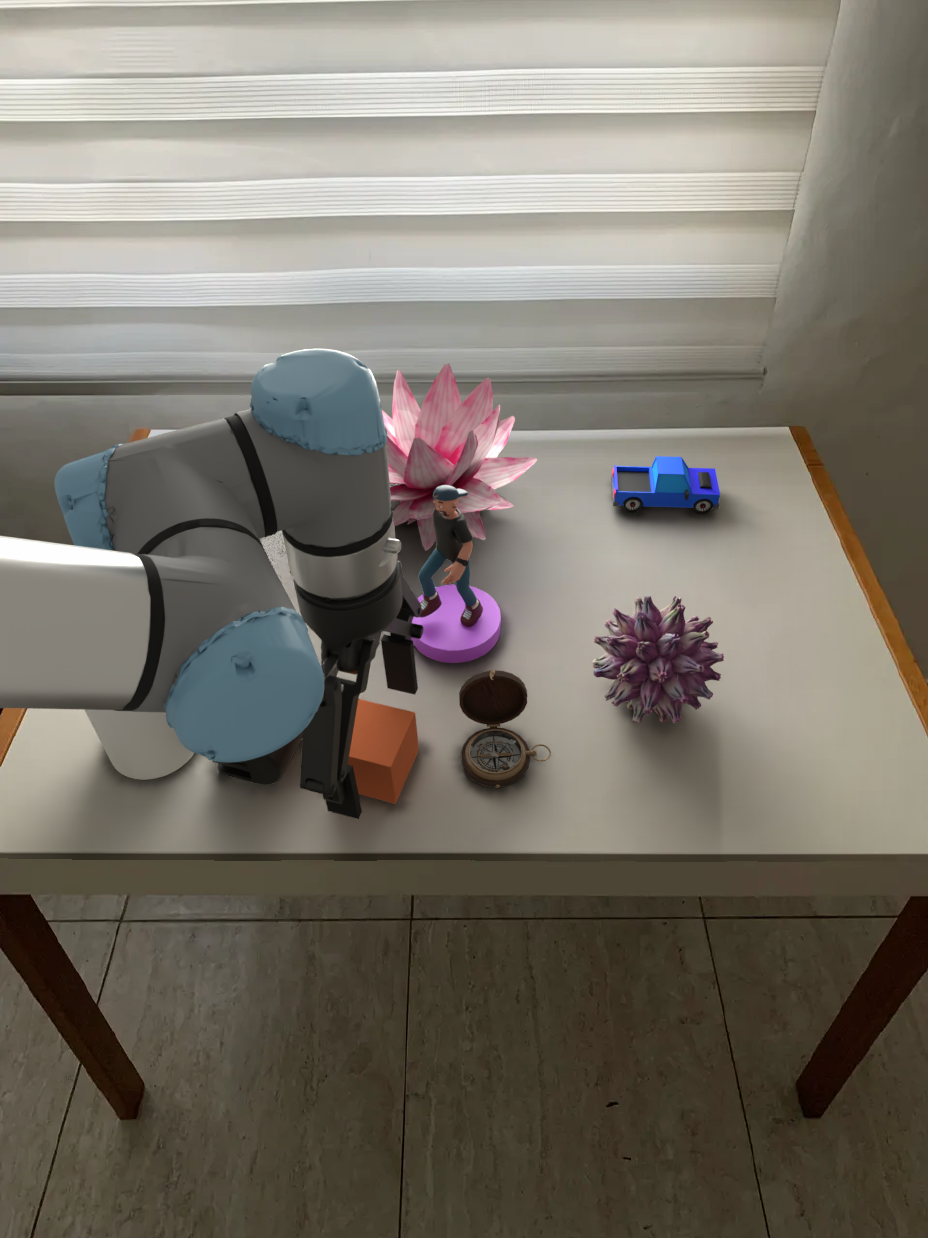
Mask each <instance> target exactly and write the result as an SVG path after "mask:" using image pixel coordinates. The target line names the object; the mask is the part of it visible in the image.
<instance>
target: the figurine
mask: <svg viewBox="0 0 928 1238" xmlns="http://www.w3.org/2000/svg"><path fill="white" fill-rule="evenodd" d="M467 495H468V492H467V491H465V490H463V489H456V488H454V487H453V486H450V485H441V486H438V487H437V488H436V489H435V490H434V493H433V497H434V502H433V503H434V505H436V508H435V510H434V512H433V522H434V528H435V533H436V541H435V549H434V550H433V551H432V553H431V554H430V555H429V557H428V558H427V560H426V562H425V563H424V565H423V566H422V567H421V569H420V570H419V572H418V581H419V584H420V587H421V590H422V593H423V594H420V595H419V596H418V597H417V599H418V601H419V602H420V604H421V607H422V612H421V614H420V616H419V617H418V618H417V617H413V620H412V623H414V624H418V625H423V634H422V637H421V639H417V638H413V637H411V640H412V641H413V646H414V648H416V650H417V651H418V652H419V653H421V654H422V655H423V656H425V657H427V658H429V659H431V660H434V661H438V662H439V663H440V662H441V663H448V664H460V663H461V664H462V663H467V662H472V661H474V660H477V659H479V658H481V657H483V656H485V655H486V654H488V653H489V652H490V651H492V649H493V648H494V647H495V645H496V644H497V642H498V640H499V639H500V636H501V629H502V627H501V626H502V625H501V624H502V621H501V619H502V617H501V616H502V615H501V609H500V607H499V605H498V603H497V601H496V599H494V598H493V597H492V596H491V595H490V594H489V593H488V592H486V591H484V590H482V589H480V588H478V587H474V586H471V585H470V583H471V564H470V558H471V557H470V556H471V554H472V551H473V547H474V546H473V541H474V537H473V536H472V535H471V533H470V531H469V528H468V526H467V521H466V519H465V517H464V515H463V514H462V513H461V512H460V511H459V510H458V509H457V505H458V498H459V497H462V496H467ZM446 561H449V562H450V563H451V565H449V566H448V567H446V568H444V572H445V573H448V572H449V574H448V575H447V576H446V577H445V578H444V579H443V580H442V581H441V585H440V586H437V587H436V586H435V585H436V584H435V581H434V579H433V577H434V576H435V575H436V573H437V572H439V571H440V569H441V568H442V566H443V565H444V564H445V563H446ZM454 582H455V584H454Z"/></svg>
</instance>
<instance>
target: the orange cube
mask: <svg viewBox="0 0 928 1238" xmlns="http://www.w3.org/2000/svg"><path fill="white" fill-rule="evenodd" d="M417 727H418V726H417V716H416V712H415V711H411V710H406V709H402V708H399V707H395V706H390V705H386V704H381V703H378V702H373V701H370V700H365V699H361V698H359V699H358V705H357V711H356V717H355V723H354V729H353V735H352V741H351V747H350V753H349V760H348V765H352V766H353V769H354V774H355V779H356V784H357V789H358V793H359V796H360V795H361V796H363V797H367V798H372V799H376V800H378V801H383V802H386V803H391V804H394V805H396V804H397V802H398V799H399V797H400V796H401V792H402V790H403V788H404V786H405V783H406V781H407V778H408V776H409V775H410V771H411V769H412V767H413V765H414V763H415V761H416V758H417V756H418V753H419V751H420V748H419V737H418V728H417Z"/></svg>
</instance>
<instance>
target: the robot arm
mask: <svg viewBox="0 0 928 1238" xmlns="http://www.w3.org/2000/svg"><path fill="white" fill-rule="evenodd" d="M251 381H252V382H251V384H250V397H251V398H250V403H249V408H248V409H244V410H241V411H237V412H235V413H234V414H233V415H231V416H230V415H229V416H227V417H223V418H222V417H221V418H217V419H214V420H210V421H207V422H202V423H199V424H195V425H191V426H187V427H184V428H180V429H177V430H172V431H169V432H165V433H160V434H158V435H153V436H149V437H145V438H142V439H138V440H135V441H130V442H127V443H118V444H114V445H111V446H110V447H109V448H108V449H106V450H102V451H99V452H97V453H94V454H92V455H88V456H85V457H83V458H80V459H77V460H75V461H71V462H68V463H66V464H64V465H63V466H62V467H61V468H60V469H59V470H58V471H57V472H56V474H55V477H54V481H53V483H54V484H53V485H54V491H55V495H56V497H57V498H56V499H57V501H58V505H59V508H60V510H61V513H62V515H63V519H64V522H65V525H66V528H67V530H68V533H69V535H70V538H71V541H72V543H73V545H72V544H67V543H66V544H65V543H58V542H50V541H43V540H36V539H30V538H21V537H15V536H14V537H13V536H7V535H0V709H33V710H35V709H36V710H40V709H42V710H43V709H44V710H84V711H85V710H115V711H132V712H164V713H166V721H167V723H168V725H169V726H170V728H174V730H175V732H176V735H177V737H178V739H179V740H180V742H181V743H182V744H183V745H184V746H185V748H186V749H188V750H190V751H191V752H193V753H194V754H197V755H200V756H202V757H205V758H206V759H207V760H208V761H211V762H212V761H216V762H228V763H229V762H241V761H247V760H251V759H255V758H258V757H261V756H264V755H267V754H269V753H271V752H274V751H276V750H277V749H279V748H281V747H283V746H284V745H286V744H288V743H289V742H290V741H292V740H293V739H294V738H296V737H297V736H298V735H299V734H300V733H301V732H302V731H303V732H302V739H301V752H300V753H301V754H300V770H299V771H300V772H299V788H300V789H301V790H304V791H308V792H311V793H316V794H319V795H322V799H323V800H324V801H325V803H326V807H327V812H330V813H334V814H338V815H340V816H345V817H349V818H353V819H355V820H360V817H361V815H362V813H363V809H362V805H361V804H362V803H361V799H360V794H359V793H358V789H357V784H356V779H355V774H354V769H353V766H352V765H348V760H349V753H350V747H351V741H352V735H353V729H354V723H355V717H356V711H357V705H358V699H360V695H362V694H363V693H365V692H366V691H367V688H368V682H369V677H370V670H371V665H372V661H373V660H374V659H375V658H376V655H377V653H376V652H377V650H378V648H379V645H380V644H381V653H382V658H383V666H384V673H385V679H386V687H387V689H389V690H393V691H397V692H402V693H407V694H411V695H416V694H417V692H418V689H419V687H418V678H417V676H418V675H417V667H416V666H417V665H416V657H415V656H416V655H415V646H414V644H413V641H412V640H411V637H413V638H417V639H421V637H422V634H423V625H418V624H414V623H412V620H413V617H417V618H418V617H419V616H420V614H421V612H422V607H421V604H420V602H419V601H418V599H417V598H418V597H417V595H416V594H415V593H414V590H413V589H412V587H411V586H410V585H409V583H408V581H407V580H406V578H405V577H404V571H403V565H402V562H401V561H400V560H398V553H399V552H401V551H402V542H401V540H400V539H397V538H396V530H395V526H394V520H393V511H394V510H393V505H392V502H391V493H390V487H391V483H390V481H389V469H388V457H387V445H386V441H387V429H386V427H385V425H384V420H383V414H382V410H383V408H382V403H381V398H380V394H379V390H378V384H377V381H376V379H375V376H374V375H373V372H372V370H371V369H370V368H369V367H368V366H367V365H366V364H365V363H363V362H362V361H361V360H360V359H358V358H357V357H355V356H353V355H351V354H350V353H346V352H343V351H340V350H335V349H329V348H305V349H298V350H293V351H292V352H291V351H290V352H287V353H283V354H281V355H279V356H278V357H277V358H276V360H275V361H274V362H271V363H266V364H265V365H263V366H262V367H260V368H259V369H258V371H257V372H256V374H254V376H253V379H252V380H251ZM280 531H281V532H282V538H283V544H284V547H285V548H284V549H285V554H286V557H287V563H288V567H289V572H290V575H291V576H292V579H293V580H292V581H293V586H294V591H295V597H296V599H297V605H298V609H299V612H298V611H297V610H296V607H295V606H294V604H293V601H292V600H291V598H290V596H289V594H288V592H287V591H286V589H285V587H284V585H283V583H282V581H281V579H280V577H279V575H278V573H277V572H276V570H275V568H274V566H273V563H272V562H271V560H270V558H269V556H268V554H267V551H266V550H265V548H264V545H263V543H262V541H261V539H264V538H268V537H270V536H273V535H276V534H277V533H278V532H280ZM309 629H310V630H311V631H312V632H313V633H314V634H315V635H316V636H317V637H318V638H319V640H320V641H321V644H320V659H321V663H320V660H319V657H318V655H317V652H316V650H315V647H314V644H313V642H312V639H311V636H310V635H309ZM383 632H385V633H389V634H383V635H382V633H383ZM339 672H342V673H345V674H350V675H356V679H355V681H354V680H349V679H345V678H342V677H339V676H338V674H339Z"/></svg>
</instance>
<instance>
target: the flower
mask: <svg viewBox="0 0 928 1238" xmlns="http://www.w3.org/2000/svg"><path fill="white" fill-rule="evenodd" d="M633 602H634V610H633V613H632V615H631V616H629V615H627V614H624V613H622V612H621V611H620V610H619V609H617V608H616V607H614V608H613V612H612V615H613V617H614V618H615V620H616V622H615V621H612V620H611V619H608V620H607V621H605V623H604V627H605V628H606V629H607V630H608V632H609V635H606V636H599V635H594V638H593V643H594V644H597V645H599V646H600V647H601V648H602V649H603V650H604V651H605V652H606V653H604V654H603V655H602V656H600V657H598V658H594V659H592V668H594V670H593V676H594V677H595V678H603V679H607V680H612V682H611V686H610V687H609V690H608V691H607V692H606V693H605V694H604V698H605V701H606V702H608V701H609V700H611V704H613V706H614V707H619V705H621V704H622V703H625V702H626V703H627V704H626V707H627V709H628V710H630V711H633V716H632V722H633V723H639V724H641V723H642V720H643V719H644V716H645V715H650V714H651V713H652V712H653V710H654V711H655V713H656V714H657V716H658V719H659V722H661V723H664V722H667V721H668V716H669V717H670V719H671V721H672V723H673V724H676V723H680V722H682V716H681V715H682V714H681V710H682V708H683V707H682V706H683V705H684V704H685V705H689V706H691V707H692V708H693V709H695V711H697V710H699V709H700V708H701V707H702V703H701V702H700V700H699V699H698V698H705V700H709V701H710V700H711V698H713V696H714V693H713V691H711V690H710V689H709V688H708V686H707V685H706V682H708V681H717V682H720V680H721V679H722V677H721V676H722V673H720V672H717V671H715V669H713V668H712V666H714V665H715V664H717V663H720V662H721V663H722V662H724V661H725V659H724V658H725V656H724V653H722V652H721V653H719V652H716V651H713V650H715V649H717V648H718V645H719V642H717V641H713V642H708V641H705V640H707V639H709V638H710V632H708V629H709V627H710V626H712V625H713V623H714V621H713V620H712V618H711V617H710V616H708V617H705V618H704V619H702V620H701V619H700V617H699V616H697V615H695V614H694V615H693V616H692V617H690V618H689V619H686V618H685V614H684V613H685V610H686V606H685V605H684V604H682V597H677V596H676V595H675V596H674V597H673V598H672V601H671V603H669V604H668V605H667V606H665V607H664V608H661V609H660V610H659V608H658V607H657V606H656V605H655V604H654V602H653V599H652V596H651V595H646V596H643V599H642V598H641V596H639V597H638V598H634V600H633Z"/></svg>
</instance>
